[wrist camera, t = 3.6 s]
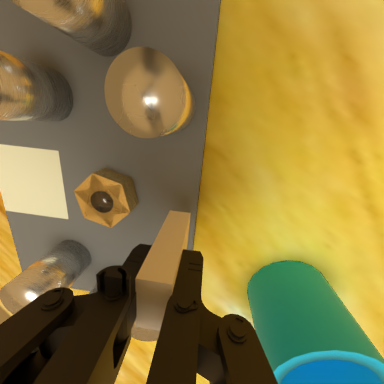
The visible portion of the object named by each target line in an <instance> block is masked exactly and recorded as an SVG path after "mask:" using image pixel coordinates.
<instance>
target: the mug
mask: <svg viewBox="0 0 384 384" xmlns="http://www.w3.org/2000/svg"><path fill="white" fill-rule="evenodd" d="M247 294H248V299H249V304H250V308H251V313H252V318H253V323H254V328H255V332H256V334H257V336H258V338H259V341H260V343H261V345H262V348H263V350H264V352H265V355H266V357H267V359H268V361H269V364H270V366H271V368H272V371H273V373H274V375H275V378H276V380H277V382H278V384H384V359H383V357H382V356H381V355H380V353H379V352H378V350H377V349H376V348H375V346H374V345H373V344H372V342H371V341H370V339H369V338H368V337H367V335H366V334H365V333H364V331H363V330H362V328H361V327H360V326H359V324H358V323H357V322H356V320H355V319H354V318H353V316H352V315H351V313H350V312H349V311H348V309H347V308H346V307H345V305H344V304H343V302H342V301H341V300H340V298H339V297H338V296H337V294H336V293H335V291H334V290H333V289H332V287H331V286H330V285H329V283H328V282H327V281H326V279H325V278H324V276H323V275H322V274H321V272H319V271H318V270H317V269H315V268H314V267H313V266H311V265H308V264H305V263H303V262H300V261H287V260H286V261H280V262H275V263H272V264H269V265H267V266H265V267H263V268H261V269H260V270H259V271H258V272H256V273H255V274H254V275H253V277H252V278H251V280H250V282H249V283H248V290H247Z"/></svg>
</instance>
